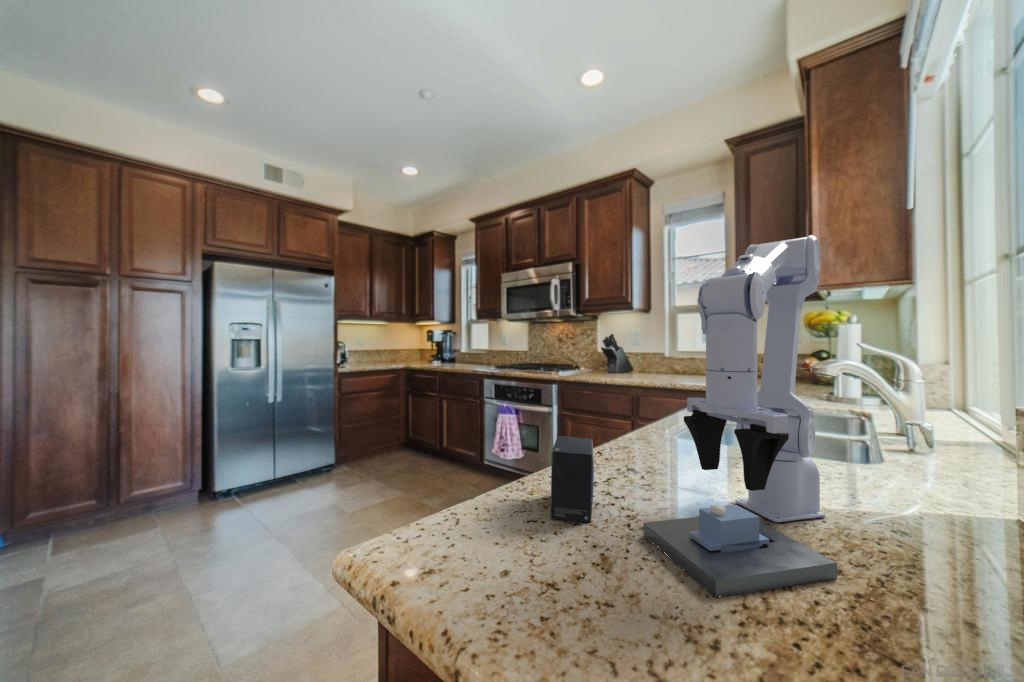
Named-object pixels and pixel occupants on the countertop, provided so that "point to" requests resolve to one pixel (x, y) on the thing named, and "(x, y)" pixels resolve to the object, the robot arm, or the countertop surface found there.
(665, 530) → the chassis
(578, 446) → the small box
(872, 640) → the countertop surface
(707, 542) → the servo
